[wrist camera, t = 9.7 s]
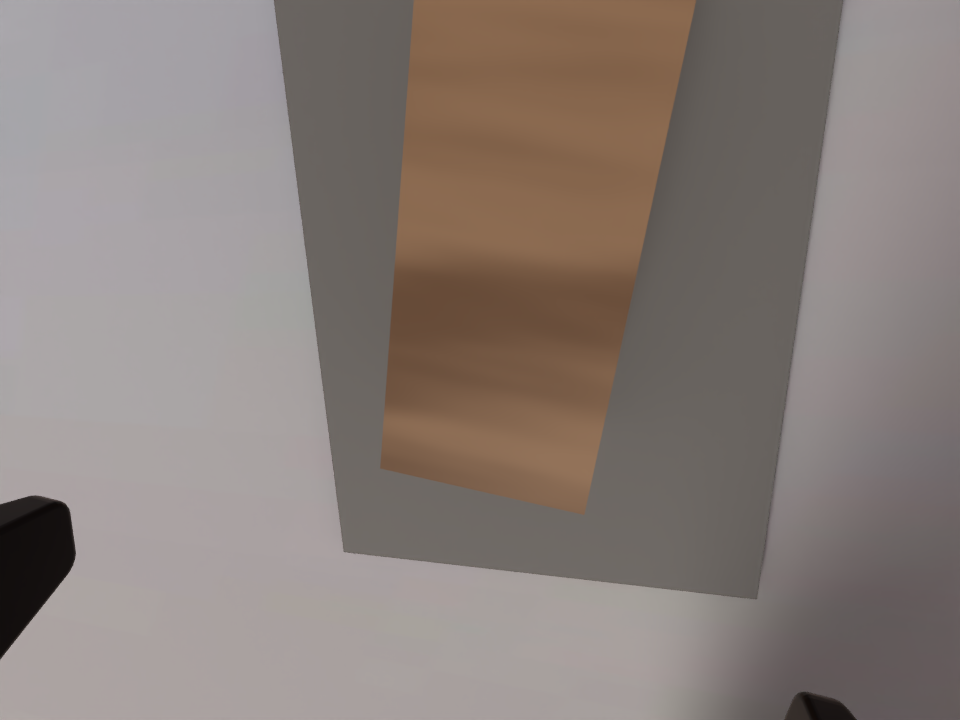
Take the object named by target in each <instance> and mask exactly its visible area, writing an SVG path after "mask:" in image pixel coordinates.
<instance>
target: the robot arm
mask: <svg viewBox="0 0 960 720" xmlns="http://www.w3.org/2000/svg"><path fill="white" fill-rule="evenodd" d="M75 556H76V550H75V543H74V536H73V529H72V522H71V515H70V510H69V508H68V507H67V505H66V504H65V503H63V502H61V501H58V500H54V499H50V498H46V497H42V496H28V497H25V498H21V499H18V500H14V501H11V502H7V503H4V504H0V659H1V658H2V657H3V655H4V654H5V653H6V652H7V650H8V649H9V648H10V646H11V645H12V644H13V643H14V641H15V640H16V639H17V638H18V636H19V635H20V634H21V633H22V631H23V630H24V629H25V628H26V626H27V625H28V624H29V623H30V621H31V620H32V619H33V617H34V616H35V615H36V614H37V612H38V611H39V610H40V609H41V607H42V606H43V605H44V604H45V602H46V601H47V600H48V599H49V597H50V596H51V595H52V593H53V592H54V591H55V590H56V588H57V587H58V586H59V585H60V583H61V582H62V581H63V580H64V578H65V577H66V576H67V575H68V573H69V572H70V570H71V568H72V566H73V564H74V561H75ZM784 720H857V719H856V718H855V717H854V716H853V715H852V713H851V712H850V711H849V710H848V709H847V708H846V707H845V706H844V705H843V704H842V703H841V702H839V701H837V700H835V699H832V698H828V697H825V696H821V695H817V694H813V693H809V692H800V693H798V694H797V695H796V696H795V697H794V699H793V700H792V703H791V705H790V708H789V710H788V712H787V715H786V717H785V719H784Z"/></svg>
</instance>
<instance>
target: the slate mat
mask: <svg viewBox="0 0 960 720" xmlns="http://www.w3.org/2000/svg"><path fill="white" fill-rule="evenodd" d="M274 4H275V12H276V20H277V28H278V36H279V44H280V52H281V60H282V67H283V75H284V83H285V91H286V99H287V107H288V115H289V123H290V131H291V138H292V146H293V154H294V162H295V170H296V178H297V186H298V194H299V202H300V210H301V217H302V225H303V233H304V241H305V249H306V257H307V265H308V273H309V281H310V288H311V296H312V304H313V312H314V320H315V328H316V336H317V344H318V352H319V359H320V367H321V375H322V383H323V391H324V399H325V407H326V415H327V423H328V431H329V438H330V446H331V454H332V462H333V470H334V478H335V486H336V494H337V502H338V509H339V517H340V525H341V533H342V541H343V549H344V552H348V553H357V554H365V555H374V556H383V557H391V558H400V559H409V560H418V561H426V562H435V563H444V564H453V565H461V566H470V567H479V568H488V569H496V570H505V571H514V572H523V573H531V574H540V575H549V576H557V577H566V578H575V579H584V580H592V581H601V582H610V583H619V584H627V585H636V586H645V587H654V588H662V589H671V590H680V591H689V592H697V593H706V594H715V595H723V596H732V597H741V598H750V599H757V595H758V588H759V581H760V574H761V567H762V560H763V553H764V546H765V539H766V532H767V525H768V519H769V512H770V505H771V498H772V491H773V484H774V477H775V470H776V463H777V456H778V449H779V442H780V435H781V428H782V421H783V414H784V407H785V400H786V393H787V386H788V380H789V373H790V366H791V359H792V352H793V345H794V338H795V331H796V324H797V317H798V310H799V303H800V296H801V289H802V282H803V275H804V268H805V261H806V254H807V247H808V241H809V234H810V227H811V220H812V213H813V206H814V199H815V192H816V185H817V178H818V171H819V164H820V157H821V150H822V143H823V136H824V129H825V122H826V115H827V109H828V102H829V95H830V88H831V81H832V74H833V67H834V60H835V53H836V46H837V39H838V32H839V25H840V18H841V11H842V4H843V0H696V3H695V8H694V13H693V17H692V22H691V26H690V31H689V36H688V40H687V45H686V49H685V54H684V59H683V63H682V68H681V72H680V77H679V82H678V86H677V91H676V95H675V100H674V105H673V109H672V114H671V118H670V123H669V128H668V132H667V137H666V141H665V146H664V151H663V155H662V160H661V164H660V169H659V174H658V178H657V183H656V187H655V192H654V197H653V201H652V206H651V210H650V215H649V220H648V224H647V229H646V233H645V238H644V243H643V247H642V252H641V256H640V261H639V266H638V270H637V275H636V279H635V284H634V289H633V293H632V298H631V302H630V307H629V312H628V316H627V321H626V325H625V330H624V335H623V339H622V344H621V348H620V353H619V358H618V362H617V367H616V371H615V376H614V381H613V385H612V390H611V394H610V399H609V404H608V408H607V413H606V417H605V422H604V427H603V431H602V436H601V440H600V445H599V450H598V454H597V459H596V463H595V468H594V473H593V477H592V482H591V486H590V491H589V496H588V500H587V505H586V509H585V514H584V515H582V514H578V513H574V512H569V511H565V510H560V509H556V508H552V507H547V506H543V505H538V504H534V503H530V502H525V501H521V500H516V499H512V498H508V497H503V496H499V495H494V494H490V493H486V492H481V491H477V490H472V489H468V488H464V487H459V486H455V485H450V484H446V483H442V482H437V481H433V480H428V479H424V478H420V477H415V476H411V475H406V474H402V473H398V472H393V471H389V470H384V469H380V463H381V449H382V436H383V422H384V408H385V394H386V380H387V366H388V352H389V338H390V324H391V310H392V297H393V283H394V269H395V255H396V241H397V227H398V213H399V199H400V185H401V171H402V158H403V144H404V130H405V116H406V102H407V88H408V74H409V60H410V46H411V32H412V19H413V5H414V0H274Z"/></svg>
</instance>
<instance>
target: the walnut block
mask: <svg viewBox="0 0 960 720" xmlns="http://www.w3.org/2000/svg"><path fill="white" fill-rule="evenodd" d="M695 3H696V0H414V5H413V19H412V32H411V46H410V60H409V74H408V88H407V102H406V116H405V130H404V144H403V158H402V171H401V185H400V199H399V213H398V227H397V241H396V255H395V269H394V283H393V297H392V310H391V324H390V338H389V352H388V366H387V380H386V394H385V408H384V422H383V436H382V449H381V463H380V469H384V470H389V471H393V472H398V473H402V474H406V475H411V476H415V477H420V478H424V479H428V480H433V481H437V482H442V483H446V484H450V485H455V486H459V487H464V488H468V489H472V490H477V491H481V492H486V493H490V494H494V495H499V496H503V497H508V498H512V499H516V500H521V501H525V502H530V503H534V504H538V505H543V506H547V507H552V508H556V509H560V510H565V511H569V512H574V513H578V514H582V515H584V514H585V509H586V505H587V500H588V496H589V491H590V486H591V482H592V477H593V473H594V468H595V463H596V459H597V454H598V450H599V445H600V440H601V436H602V431H603V427H604V422H605V417H606V413H607V408H608V404H609V399H610V394H611V390H612V385H613V381H614V376H615V371H616V367H617V362H618V358H619V353H620V348H621V344H622V339H623V335H624V330H625V325H626V321H627V316H628V312H629V307H630V302H631V298H632V293H633V289H634V284H635V279H636V275H637V270H638V266H639V261H640V256H641V252H642V247H643V243H644V238H645V233H646V229H647V224H648V220H649V215H650V210H651V206H652V201H653V197H654V192H655V187H656V183H657V178H658V174H659V169H660V164H661V160H662V155H663V151H664V146H665V141H666V137H667V132H668V128H669V123H670V118H671V114H672V109H673V105H674V100H675V95H676V91H677V86H678V82H679V77H680V72H681V68H682V63H683V59H684V54H685V49H686V45H687V40H688V36H689V31H690V26H691V22H692V17H693V13H694V8H695Z"/></svg>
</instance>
